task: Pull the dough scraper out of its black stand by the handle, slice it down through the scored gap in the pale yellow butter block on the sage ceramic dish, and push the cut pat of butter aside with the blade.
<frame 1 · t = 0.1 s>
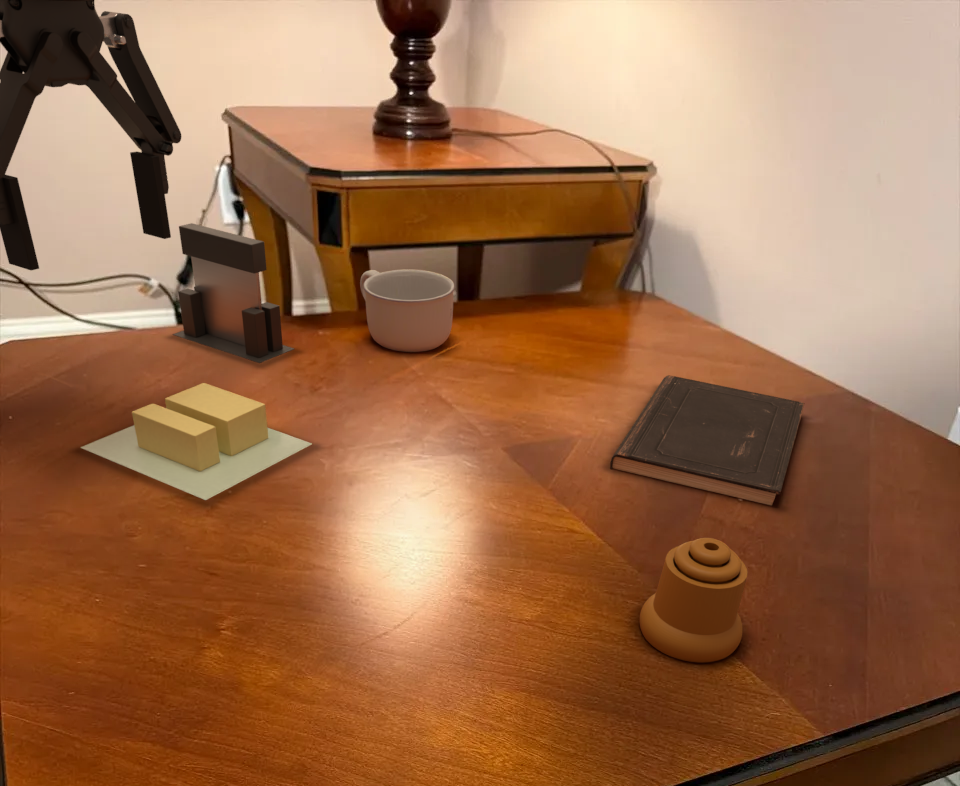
hand: (95, 250, 74), 17 cm above the table, tool pointing down, fingers open, 13 cm apart
butter dish: (200, 454, 83), on the table
knife stand: (234, 349, 104), on the table
teacup: (402, 345, 109), on the table
hardcover book: (709, 447, 91), on the table
butter block: (219, 435, 84), point 1 cm above the table, touching butter dish
ornamental finial: (686, 639, 65), on the table
butter pat: (179, 454, 80), point 1 cm above the table, touching butter dish
dough scraper: (233, 341, 104), point 1 cm above the table, touching knife stand
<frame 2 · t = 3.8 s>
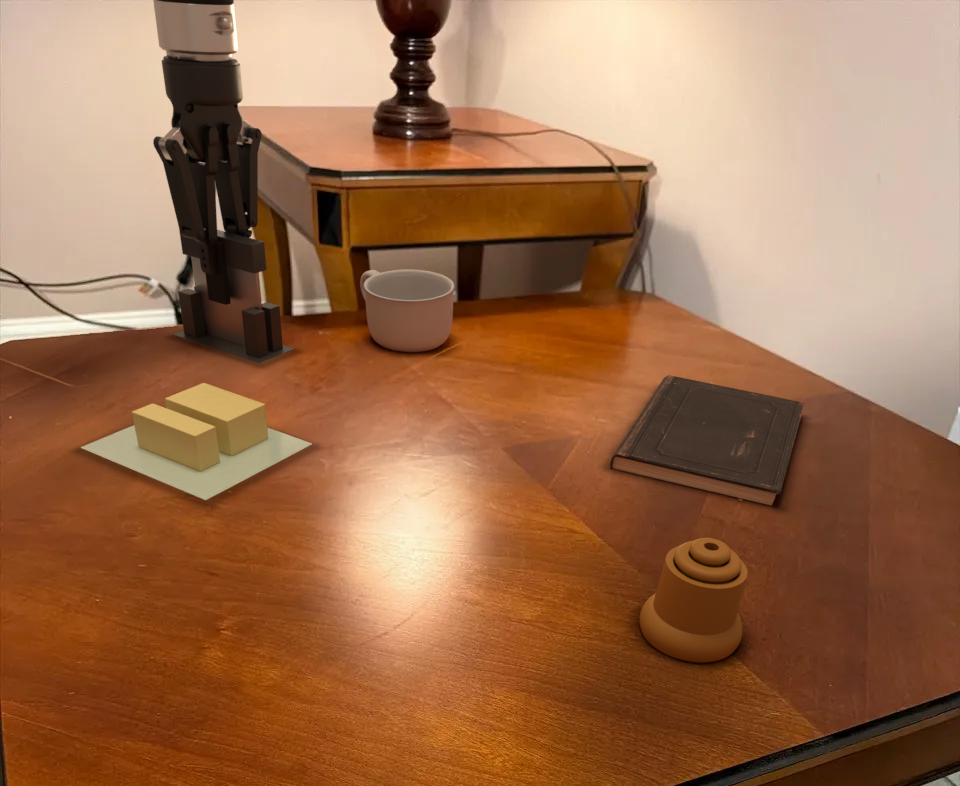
hand: (228, 298, 100), 6 cm above the table, tool pointing down, fingers closed on dough scraper, 2 cm apart
dough scraper: (233, 341, 104), point 1 cm above the table, touching gripper, knife stand
everything else where it was.
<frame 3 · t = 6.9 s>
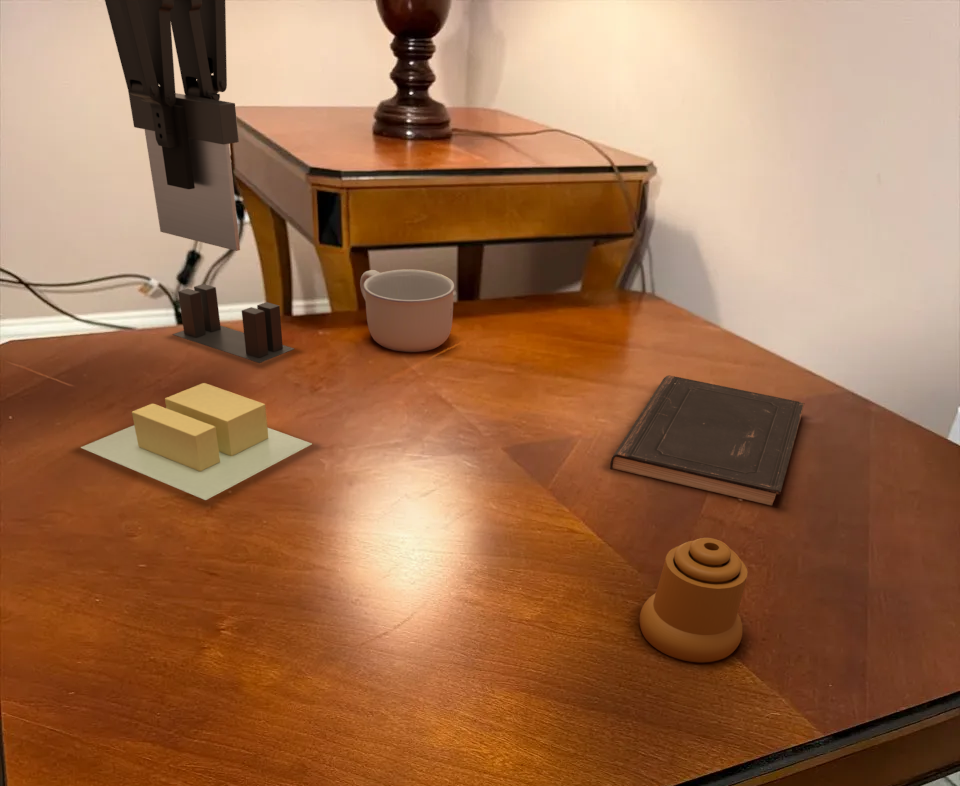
hand: (191, 183, 81), 21 cm above the table, tool pointing down, fingers closed on dough scraper, 2 cm apart
dough scraper: (199, 240, 84), point 16 cm above the table, touching gripper
everything else where it was.
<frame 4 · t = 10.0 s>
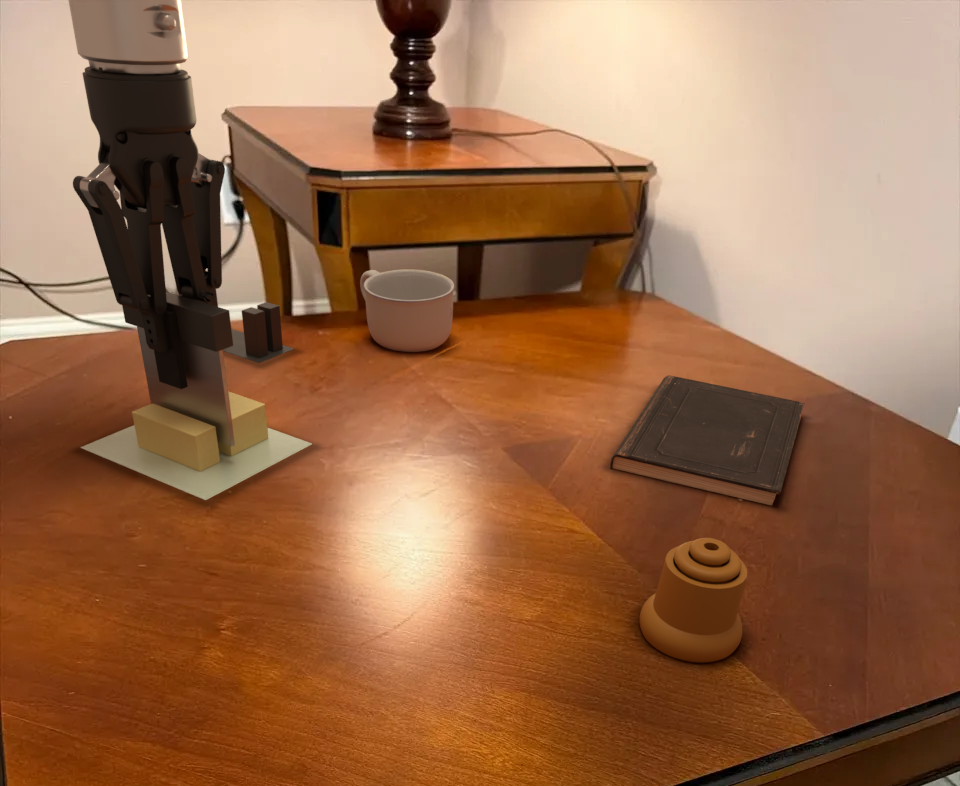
hand: (184, 379, 77), 8 cm above the table, tool pointing down, fingers closed on dough scraper, 2 cm apart
dough scraper: (193, 431, 80), point 3 cm above the table, touching gripper
everything else where it was.
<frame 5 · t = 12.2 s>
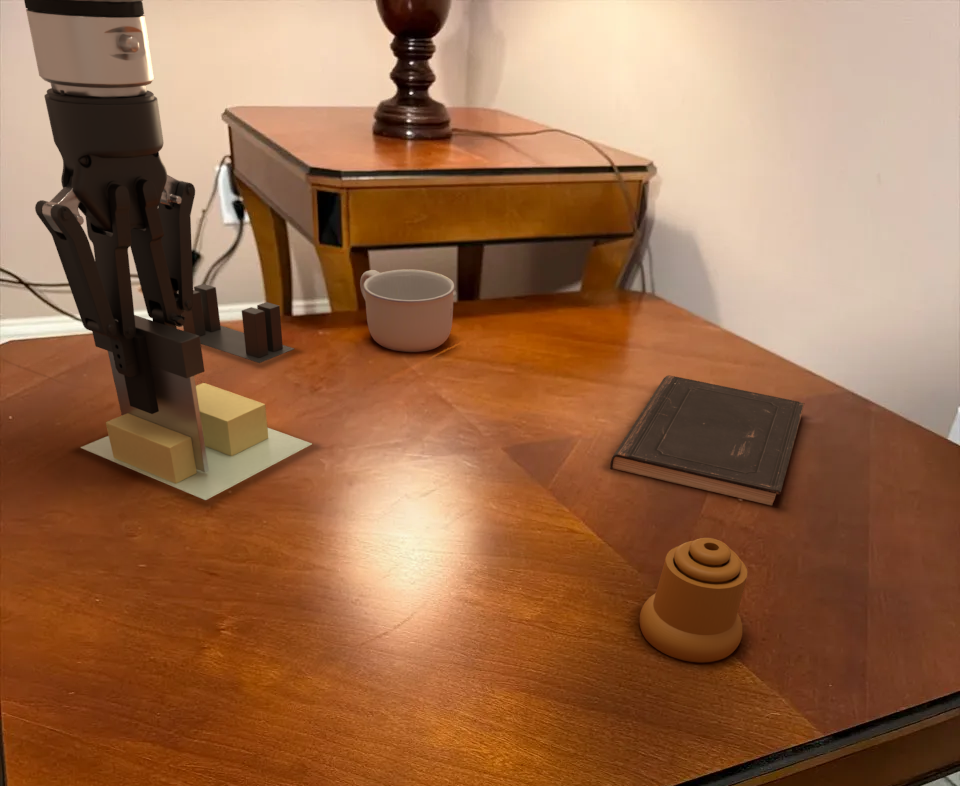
hand: (156, 403, 76), 6 cm above the table, tool pointing down, fingers closed on dough scraper, 2 cm apart
butter pat: (155, 465, 78), point 1 cm above the table, touching butter dish, dough scraper
dough scraper: (167, 455, 79), point 1 cm above the table, touching butter pat, gripper
everything else where it was.
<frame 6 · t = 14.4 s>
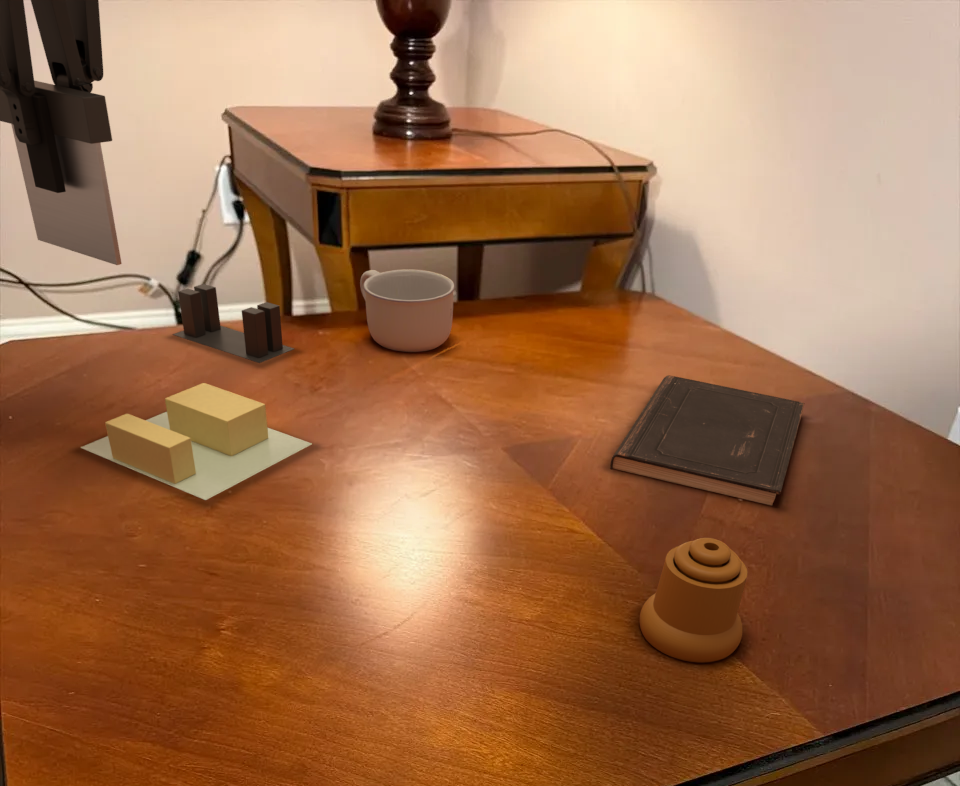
hand: (64, 186, 70), 22 cm above the table, tool pointing down, fingers closed on dough scraper, 2 cm apart
butter pat: (154, 465, 78), point 1 cm above the table, touching butter dish
dough scraper: (78, 251, 74), point 17 cm above the table, touching gripper
everything else where it was.
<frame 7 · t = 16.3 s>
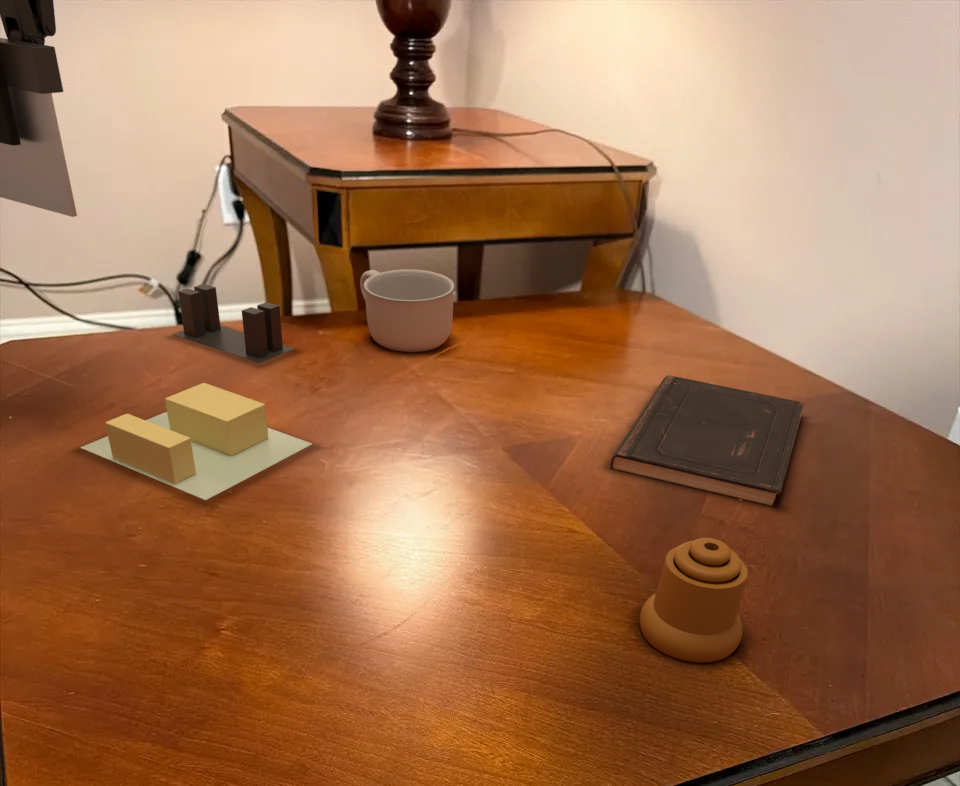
hand: (20, 140, 72), 24 cm above the table, tool pointing down, fingers closed on dough scraper, 2 cm apart
dough scraper: (36, 206, 76), point 19 cm above the table, touching gripper
everything else where it was.
at the end: butter pat moved 2.9 cm from its start; butter block moved 0.0 cm from its start; the gripper is holding dough scraper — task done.
